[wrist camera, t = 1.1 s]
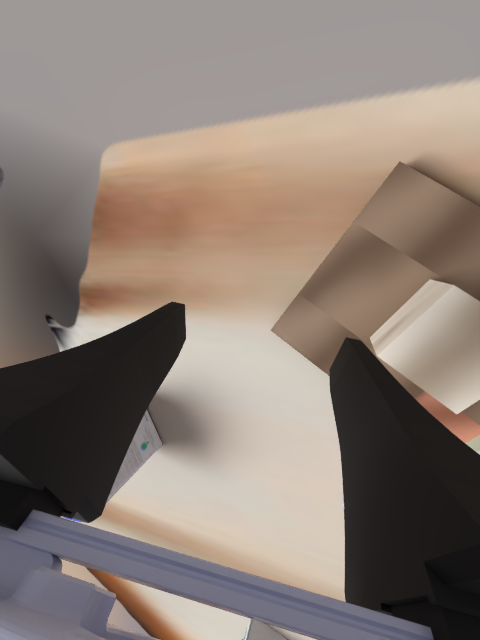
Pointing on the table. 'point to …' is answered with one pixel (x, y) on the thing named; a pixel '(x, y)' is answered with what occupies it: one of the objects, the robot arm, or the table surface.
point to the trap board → (390, 277)
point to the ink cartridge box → (136, 453)
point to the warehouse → (261, 632)
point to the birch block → (436, 343)
